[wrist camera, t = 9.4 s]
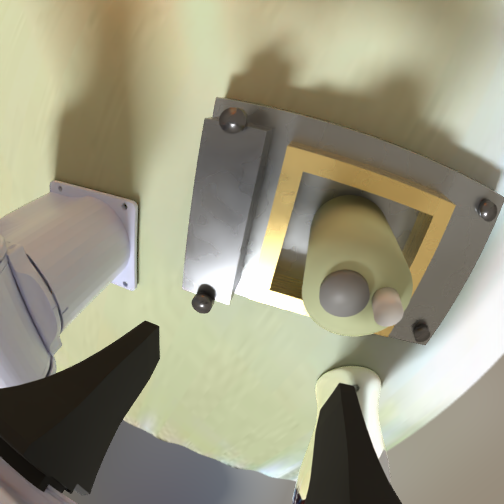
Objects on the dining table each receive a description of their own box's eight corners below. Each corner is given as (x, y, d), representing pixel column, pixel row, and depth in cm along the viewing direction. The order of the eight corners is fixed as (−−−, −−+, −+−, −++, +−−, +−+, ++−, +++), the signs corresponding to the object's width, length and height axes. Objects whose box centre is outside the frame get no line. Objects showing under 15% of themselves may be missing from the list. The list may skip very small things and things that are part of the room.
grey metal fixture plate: (196, 267, 22) (170, 304, 18) (224, 97, 16) (193, 96, 12) (421, 332, 20) (433, 376, 16) (494, 190, 14) (530, 216, 10)
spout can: (303, 260, 18) (289, 340, 12) (318, 186, 16) (314, 241, 10) (375, 275, 18) (391, 359, 11) (397, 205, 15) (436, 269, 9)
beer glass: (378, 353, 22) (382, 534, 9) (390, 398, 24) (391, 543, 11) (299, 371, 25) (265, 536, 12) (323, 411, 27) (302, 549, 14)
